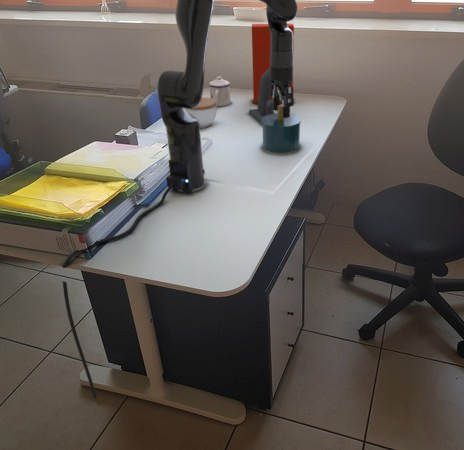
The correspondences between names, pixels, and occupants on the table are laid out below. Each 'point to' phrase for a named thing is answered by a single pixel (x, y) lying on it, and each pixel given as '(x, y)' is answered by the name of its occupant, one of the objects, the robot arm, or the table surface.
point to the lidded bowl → (204, 111)
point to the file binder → (262, 55)
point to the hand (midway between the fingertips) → (281, 113)
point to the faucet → (264, 99)
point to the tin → (281, 139)
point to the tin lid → (280, 120)
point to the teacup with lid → (220, 91)
